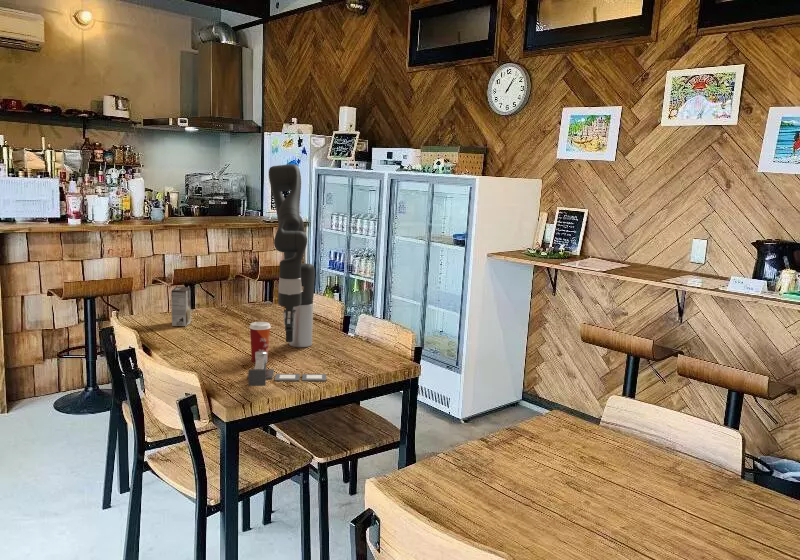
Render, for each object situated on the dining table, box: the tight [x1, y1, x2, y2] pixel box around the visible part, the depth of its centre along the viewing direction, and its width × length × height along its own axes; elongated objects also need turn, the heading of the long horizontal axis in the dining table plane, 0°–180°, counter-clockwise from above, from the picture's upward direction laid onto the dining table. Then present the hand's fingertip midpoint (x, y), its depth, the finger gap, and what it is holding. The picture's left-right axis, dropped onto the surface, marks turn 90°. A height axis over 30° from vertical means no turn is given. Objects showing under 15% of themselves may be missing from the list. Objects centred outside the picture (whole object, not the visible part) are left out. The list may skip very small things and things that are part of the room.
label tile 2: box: [301, 373, 327, 382], centre depth 207 cm, size 6×8×1 cm
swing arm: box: [248, 351, 268, 387], centre depth 198 cm, size 23×5×5 cm, turn 9°
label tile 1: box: [274, 373, 301, 382], centre depth 206 cm, size 6×8×1 cm
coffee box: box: [170, 286, 192, 328], centre depth 267 cm, size 9×6×16 cm
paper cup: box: [248, 321, 272, 364], centre depth 222 cm, size 8×8×14 cm
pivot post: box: [247, 363, 275, 380], centre depth 207 cm, size 8×8×4 cm
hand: (289, 341), depth 204 cm, fingers closed
